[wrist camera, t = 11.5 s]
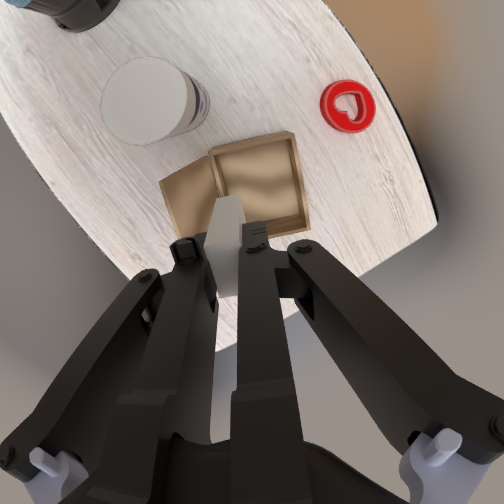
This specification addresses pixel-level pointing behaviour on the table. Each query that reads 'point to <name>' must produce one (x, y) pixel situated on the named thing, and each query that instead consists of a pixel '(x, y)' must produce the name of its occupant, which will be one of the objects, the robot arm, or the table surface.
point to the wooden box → (264, 181)
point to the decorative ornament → (341, 118)
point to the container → (152, 101)
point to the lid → (190, 197)
